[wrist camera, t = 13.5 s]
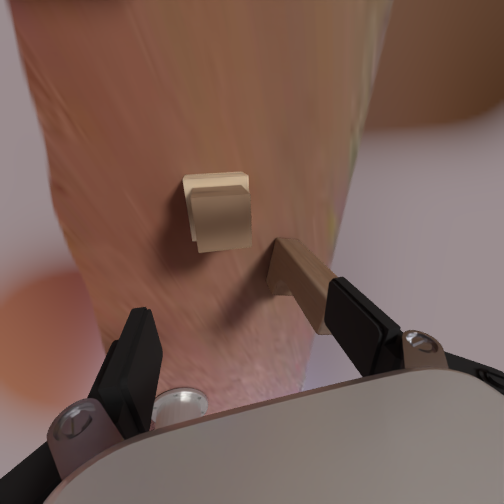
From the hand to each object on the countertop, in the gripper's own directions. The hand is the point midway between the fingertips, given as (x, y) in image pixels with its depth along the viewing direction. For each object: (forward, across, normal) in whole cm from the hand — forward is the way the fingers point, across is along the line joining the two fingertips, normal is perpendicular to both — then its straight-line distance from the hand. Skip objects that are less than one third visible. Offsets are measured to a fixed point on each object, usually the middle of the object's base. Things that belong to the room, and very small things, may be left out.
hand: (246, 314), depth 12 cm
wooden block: (+25, -11, +11) cm, 29 cm away
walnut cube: (+20, 0, -1) cm, 20 cm away
